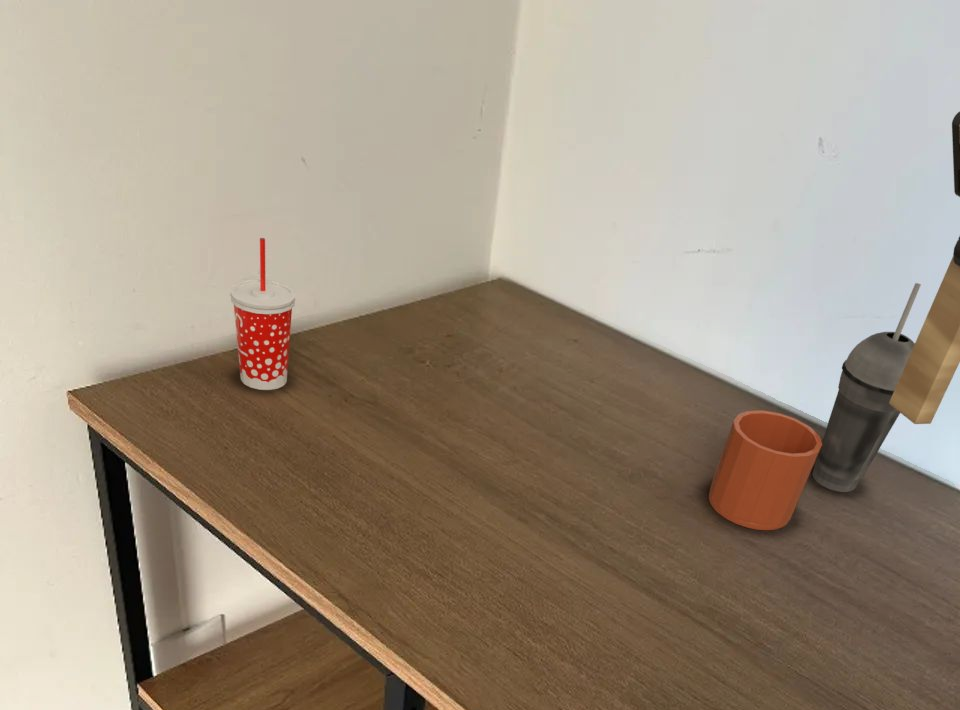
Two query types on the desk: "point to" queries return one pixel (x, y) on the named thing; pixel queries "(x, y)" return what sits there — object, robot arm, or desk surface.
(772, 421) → the utensil cup
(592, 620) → the desk surface
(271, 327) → the beverage cup
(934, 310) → the wooden block
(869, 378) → the beverage cup
